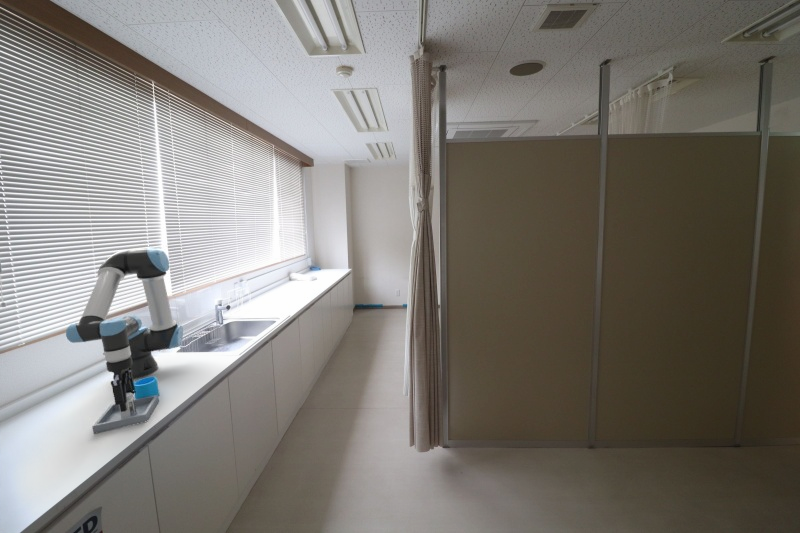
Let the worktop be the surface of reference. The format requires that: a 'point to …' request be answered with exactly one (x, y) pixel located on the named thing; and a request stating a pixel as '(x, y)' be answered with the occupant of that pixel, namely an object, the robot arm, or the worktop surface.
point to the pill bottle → (131, 403)
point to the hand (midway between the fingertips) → (128, 413)
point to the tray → (114, 421)
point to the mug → (146, 387)
